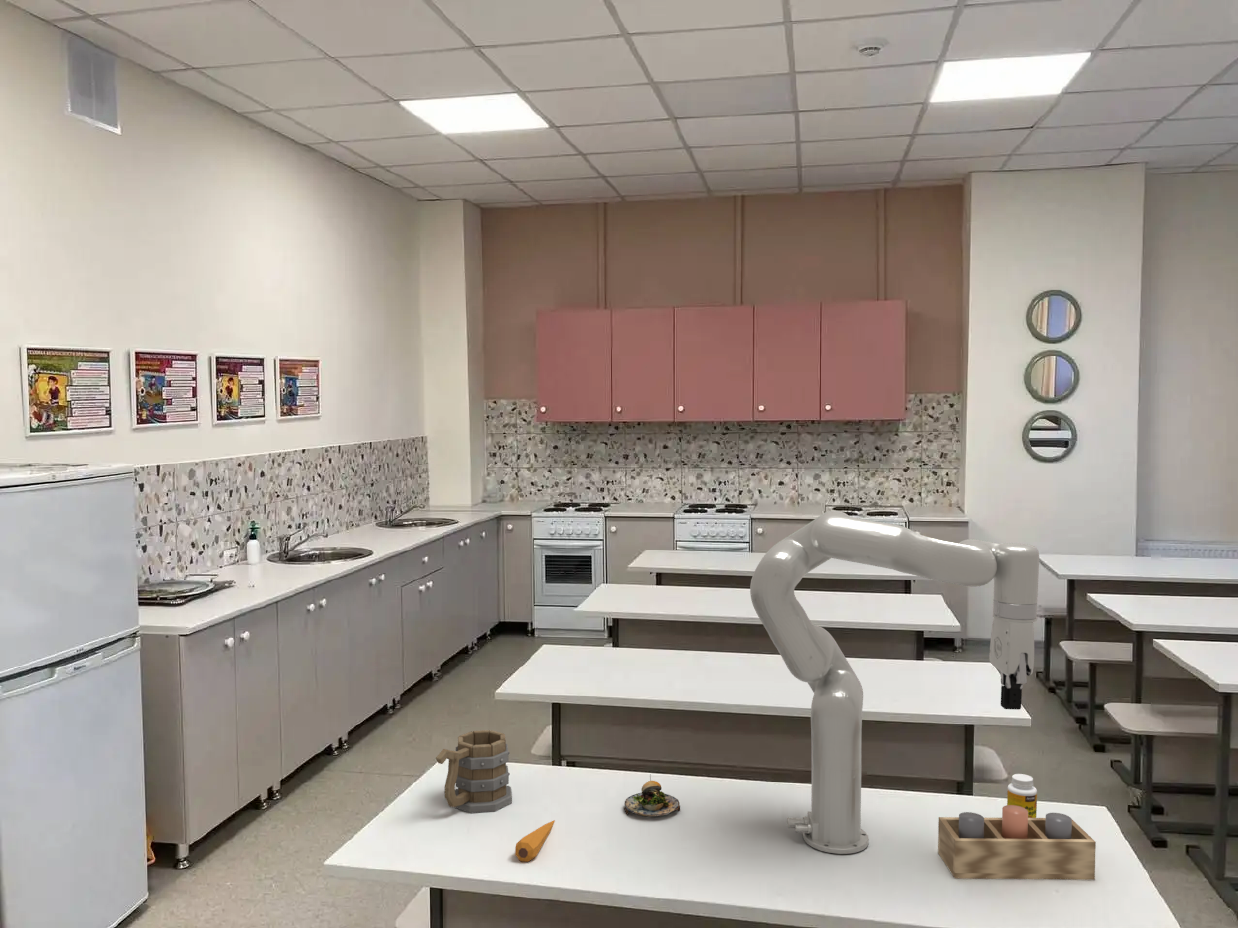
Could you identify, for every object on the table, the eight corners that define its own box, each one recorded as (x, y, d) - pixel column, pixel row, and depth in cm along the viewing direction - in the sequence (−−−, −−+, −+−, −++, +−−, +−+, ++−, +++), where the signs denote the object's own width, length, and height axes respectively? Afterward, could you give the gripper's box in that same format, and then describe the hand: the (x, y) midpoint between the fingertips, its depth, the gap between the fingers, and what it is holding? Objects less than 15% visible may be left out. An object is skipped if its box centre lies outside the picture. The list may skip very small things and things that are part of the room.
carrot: (528, 869, 180) (538, 848, 179) (508, 857, 181) (517, 836, 180) (560, 834, 199) (569, 815, 199) (541, 823, 200) (550, 804, 200)
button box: (955, 878, 174) (955, 840, 173) (937, 852, 183) (938, 816, 183) (1094, 879, 173) (1095, 841, 172) (1070, 853, 183) (1070, 817, 182)
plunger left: (962, 859, 176) (963, 822, 176) (955, 848, 181) (955, 811, 180) (987, 859, 176) (987, 822, 176) (978, 848, 180) (979, 812, 180)
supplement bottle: (1025, 834, 191) (1026, 784, 191) (1000, 824, 196) (1001, 775, 195) (1042, 827, 194) (1043, 778, 194) (1017, 818, 199) (1018, 769, 198)
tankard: (481, 784, 218) (480, 719, 217) (523, 797, 210) (522, 730, 209) (415, 815, 201) (413, 745, 201) (457, 830, 194) (456, 757, 193)
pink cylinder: (1006, 852, 176) (1007, 814, 175) (998, 841, 180) (998, 804, 180) (1031, 852, 176) (1031, 814, 175) (1021, 841, 180) (1022, 805, 180)
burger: (618, 819, 199) (618, 784, 199) (630, 797, 211) (630, 764, 210) (675, 825, 197) (675, 789, 196) (684, 801, 208) (684, 768, 208)
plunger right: (1050, 859, 176) (1051, 822, 175) (1040, 848, 180) (1041, 812, 180) (1075, 859, 176) (1076, 822, 175) (1064, 848, 180) (1065, 812, 180)
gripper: (980, 601, 185) (976, 695, 186) (1009, 619, 170) (1005, 720, 171) (1019, 602, 185) (1015, 696, 186) (1052, 620, 170) (1047, 721, 171)
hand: (1010, 707), depth 178 cm, fingers closed
